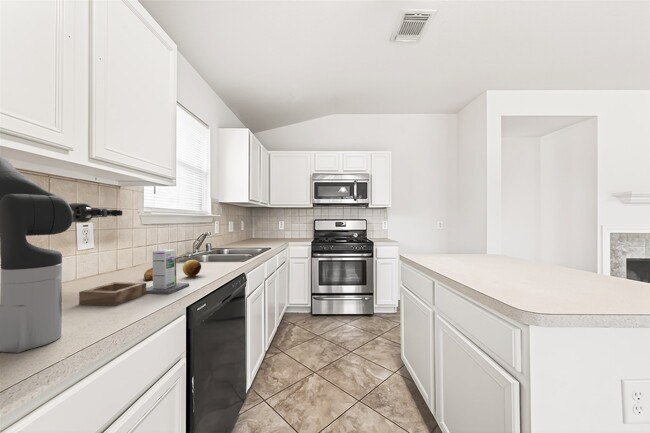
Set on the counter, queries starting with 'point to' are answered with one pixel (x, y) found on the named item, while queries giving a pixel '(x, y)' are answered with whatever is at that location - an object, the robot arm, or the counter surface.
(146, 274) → the croissant
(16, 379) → the counter surface
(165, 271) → the syrup box
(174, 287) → the charcoal mat
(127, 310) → the counter surface
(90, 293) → the walnut holder
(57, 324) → the robot arm
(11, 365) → the counter surface
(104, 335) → the counter surface
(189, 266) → the fruit
